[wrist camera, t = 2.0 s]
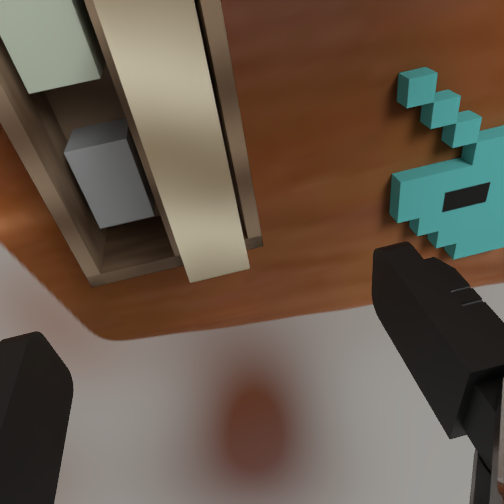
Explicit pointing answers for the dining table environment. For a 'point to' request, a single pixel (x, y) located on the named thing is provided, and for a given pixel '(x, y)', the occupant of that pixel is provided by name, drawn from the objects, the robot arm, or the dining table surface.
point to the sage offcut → (51, 42)
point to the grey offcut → (110, 173)
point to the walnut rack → (116, 107)
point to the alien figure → (451, 175)
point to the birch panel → (178, 127)
